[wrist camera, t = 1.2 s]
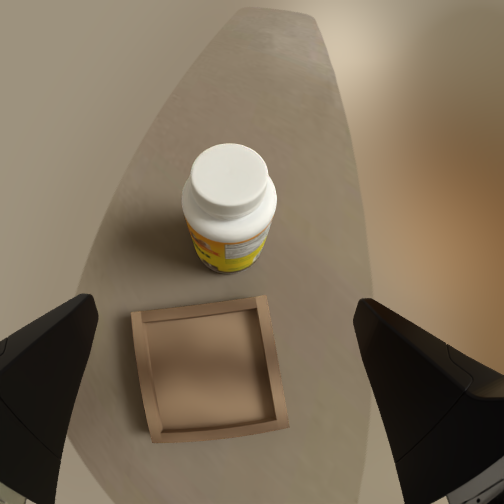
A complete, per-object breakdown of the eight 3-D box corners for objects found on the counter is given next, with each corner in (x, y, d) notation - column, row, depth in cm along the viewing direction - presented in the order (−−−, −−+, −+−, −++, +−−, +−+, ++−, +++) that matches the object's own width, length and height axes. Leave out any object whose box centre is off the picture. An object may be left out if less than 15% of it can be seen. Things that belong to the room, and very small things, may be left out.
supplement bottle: (188, 223, 24) (165, 145, 14) (249, 206, 25) (262, 123, 15) (205, 285, 22) (187, 235, 12) (271, 265, 23) (301, 203, 13)
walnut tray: (284, 420, 19) (289, 427, 17) (158, 435, 18) (152, 442, 16) (263, 299, 22) (266, 294, 20) (138, 315, 21) (130, 312, 19)
